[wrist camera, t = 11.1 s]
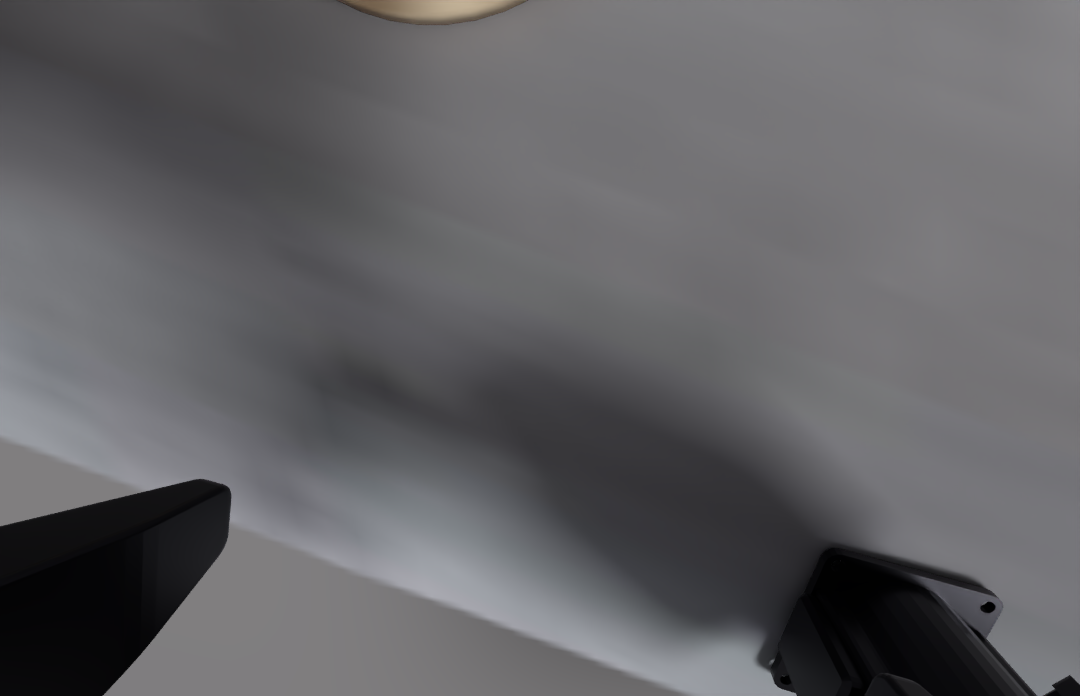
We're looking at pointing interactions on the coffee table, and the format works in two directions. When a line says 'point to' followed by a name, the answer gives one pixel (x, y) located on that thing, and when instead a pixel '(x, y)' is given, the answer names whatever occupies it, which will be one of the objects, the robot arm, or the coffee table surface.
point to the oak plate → (432, 10)
